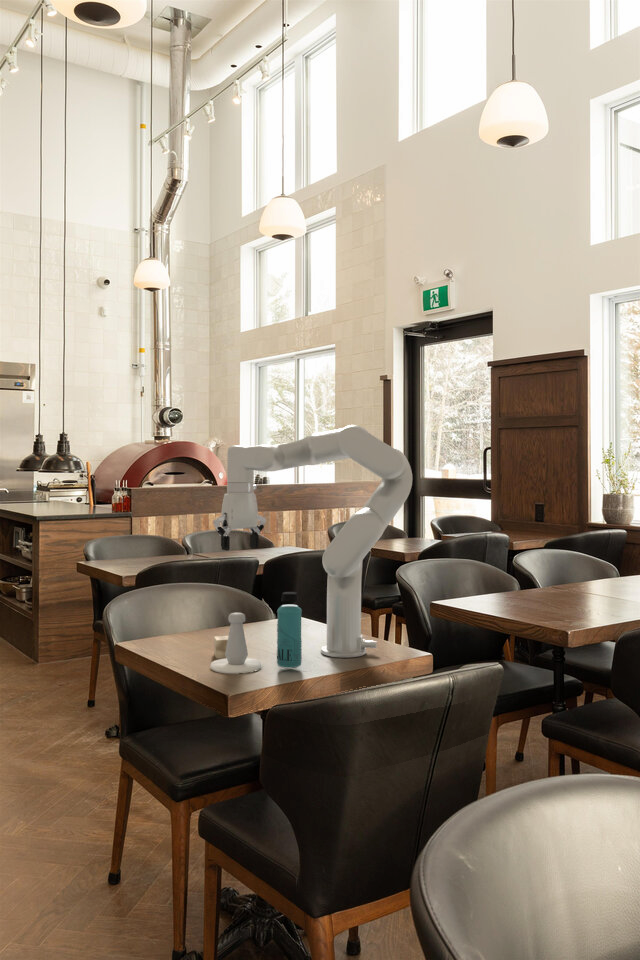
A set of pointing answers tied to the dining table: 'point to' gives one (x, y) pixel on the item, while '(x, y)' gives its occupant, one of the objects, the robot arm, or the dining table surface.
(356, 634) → the robot arm
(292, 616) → the beverage bottle
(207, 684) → the dining table surface
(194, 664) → the dining table surface
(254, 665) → the side plate
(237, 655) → the salt shaker
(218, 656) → the oak block
